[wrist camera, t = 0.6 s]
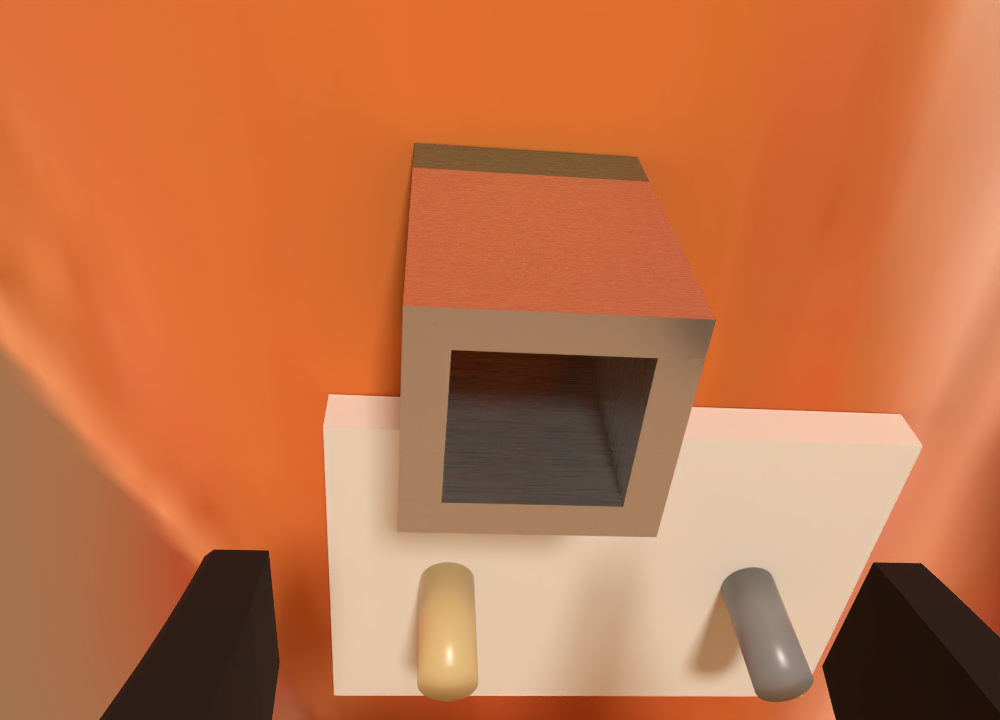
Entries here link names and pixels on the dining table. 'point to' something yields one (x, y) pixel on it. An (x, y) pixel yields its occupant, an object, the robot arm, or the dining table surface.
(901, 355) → the dining table surface
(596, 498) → the teal banded block
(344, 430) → the pin board
